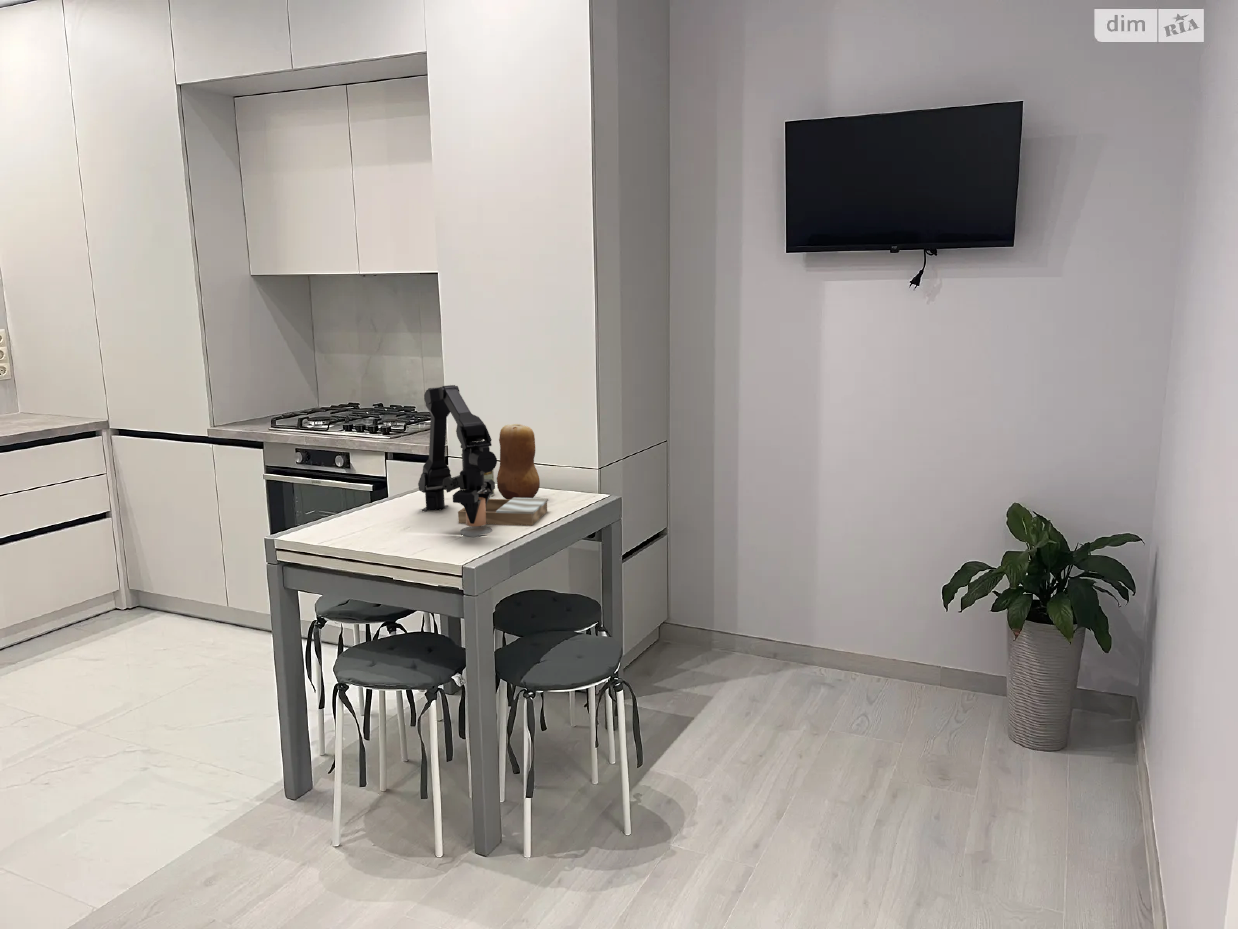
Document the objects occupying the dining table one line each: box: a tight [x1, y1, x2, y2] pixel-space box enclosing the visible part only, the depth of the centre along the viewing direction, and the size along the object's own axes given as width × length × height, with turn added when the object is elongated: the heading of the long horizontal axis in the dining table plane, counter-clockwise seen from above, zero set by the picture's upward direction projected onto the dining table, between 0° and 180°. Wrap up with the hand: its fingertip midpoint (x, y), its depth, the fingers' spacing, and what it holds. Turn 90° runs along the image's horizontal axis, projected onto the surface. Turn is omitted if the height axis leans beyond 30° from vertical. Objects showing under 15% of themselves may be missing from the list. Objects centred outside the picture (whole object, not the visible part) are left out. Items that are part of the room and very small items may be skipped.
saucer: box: [459, 525, 493, 538], centre depth 266 cm, size 9×9×1 cm
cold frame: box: [457, 497, 550, 527], centre depth 281 cm, size 17×22×5 cm
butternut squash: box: [496, 423, 541, 499], centre depth 300 cm, size 14×13×25 cm
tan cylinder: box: [465, 497, 487, 527], centre depth 265 cm, size 6×6×7 cm
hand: (475, 520), depth 266 cm, fingers closed on tan cylinder, 5 cm apart
